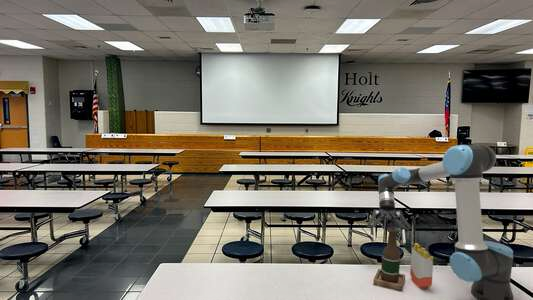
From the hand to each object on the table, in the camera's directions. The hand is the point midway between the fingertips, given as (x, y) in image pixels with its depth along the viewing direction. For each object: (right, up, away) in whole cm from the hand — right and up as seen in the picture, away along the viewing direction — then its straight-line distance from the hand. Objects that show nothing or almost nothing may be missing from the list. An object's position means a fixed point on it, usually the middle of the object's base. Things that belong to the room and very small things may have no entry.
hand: (389, 242), depth 169 cm
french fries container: (+10, -16, -10) cm, 22 cm away
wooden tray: (-3, -16, -9) cm, 18 cm away
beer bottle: (-3, -15, -9) cm, 18 cm away
